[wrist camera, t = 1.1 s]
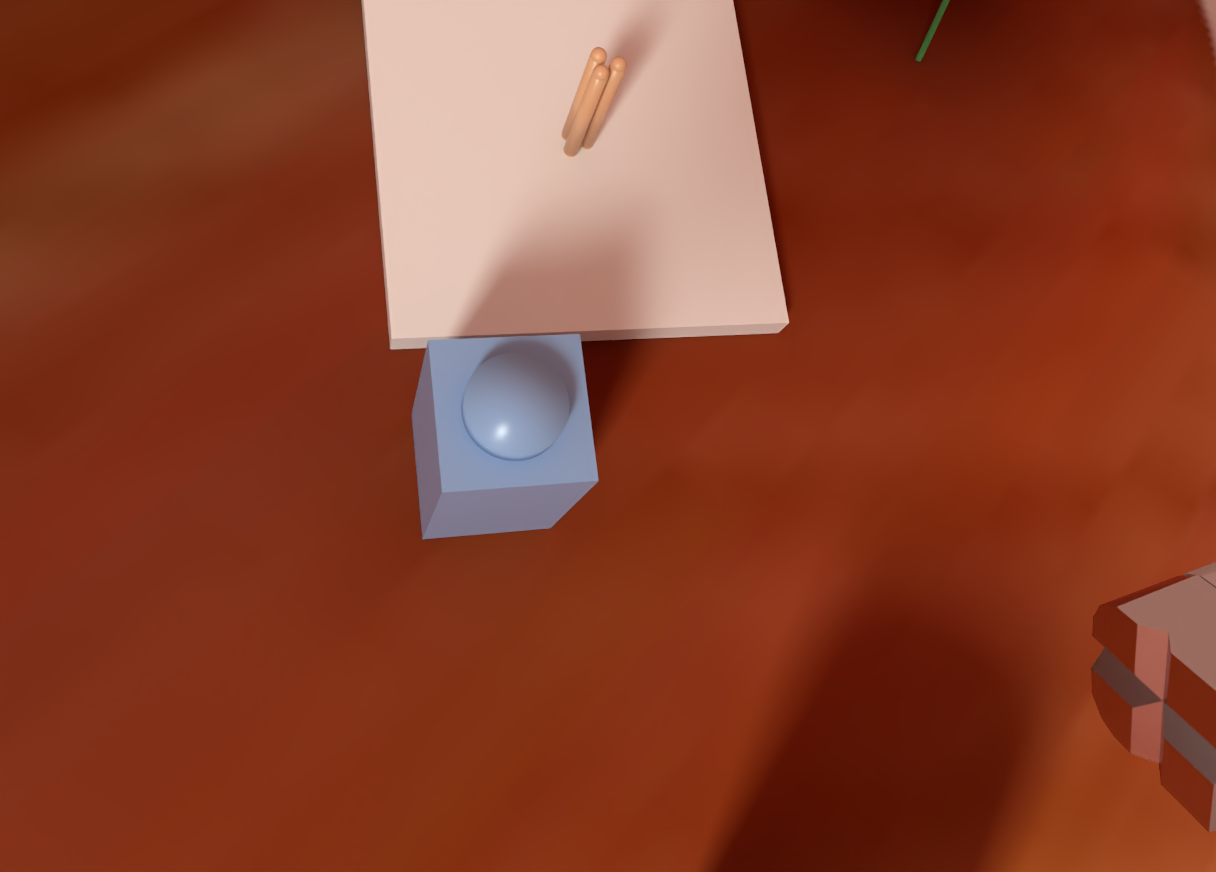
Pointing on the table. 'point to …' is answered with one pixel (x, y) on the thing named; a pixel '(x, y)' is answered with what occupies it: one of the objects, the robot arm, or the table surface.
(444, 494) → the blue domed block
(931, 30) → the lily
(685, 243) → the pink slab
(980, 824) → the table surface
